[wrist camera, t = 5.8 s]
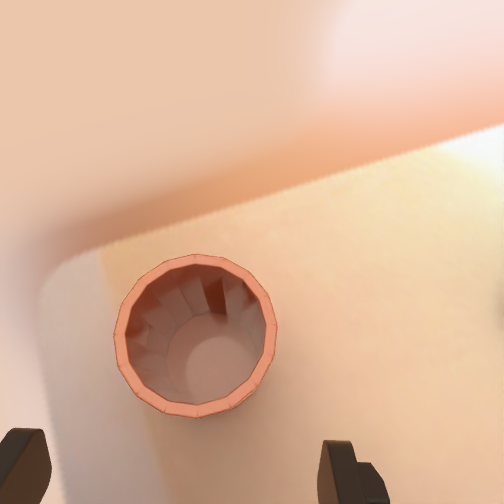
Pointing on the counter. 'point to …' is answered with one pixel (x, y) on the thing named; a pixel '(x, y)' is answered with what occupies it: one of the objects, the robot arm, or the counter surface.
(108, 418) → the counter surface
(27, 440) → the robot arm
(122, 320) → the terracotta cup
